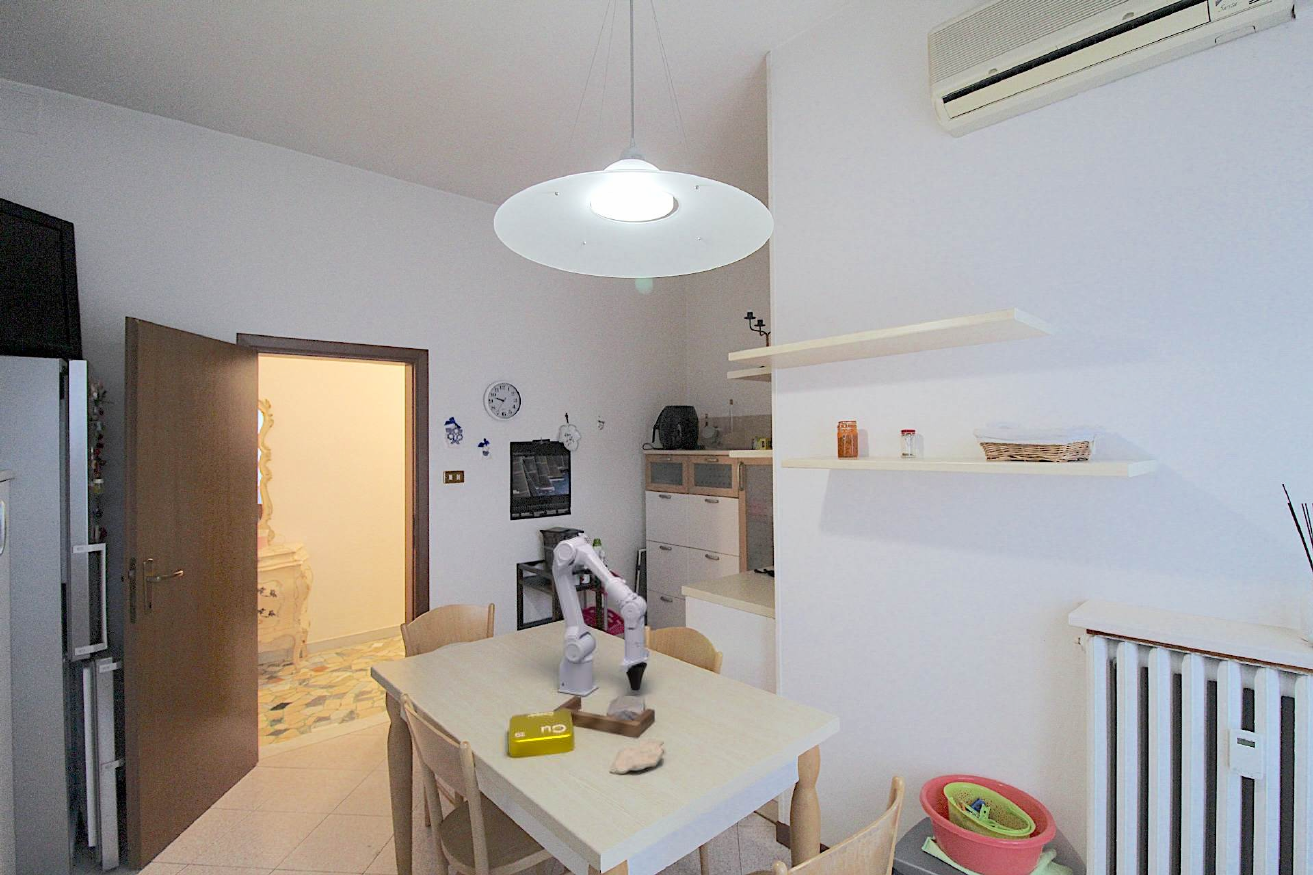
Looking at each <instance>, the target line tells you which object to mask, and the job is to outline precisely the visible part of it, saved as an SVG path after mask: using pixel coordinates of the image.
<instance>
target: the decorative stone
mask: <svg viewBox="0 0 1313 875" xmlns="http://www.w3.org/2000/svg"><path fill="white" fill-rule="evenodd" d="M664 744H665V742H664V740H661V739H660V740H659V739H657V738H650V739H648V740H643V741H640V742H639V743H637V744H633V745H630V746H626V747H624V748H622V749H620V750H619V751H618V753H617V754H616V757H615V759H614V761H613V763H612V765H611V767H610V769H609V772H610V773H612V774H614V775H623V774H626V773H627V772H629V771H641V770H643V769H645V768H650V767H656V765H658V763H659V761H660V760H661V759H662V757H663V753H664V749H663V747H662V746H663V745H664Z"/></svg>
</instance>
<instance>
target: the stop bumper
mask: <svg viewBox="0 0 1313 875" xmlns="http://www.w3.org/2000/svg"><path fill="white" fill-rule="evenodd" d="M581 709H582V697H581V696H579V695H575V696H574V695H573V697H571V698H570V699H568V700H566V701H565V702H564V703H562V704H560V705H559V706H558V707H556V708H555V709H553V711H561V710H568V711H569V712H570V713H571V717H572V723H573V727H579V728H584V729H590V730H595V731H599V732H605V733H608V734H609V733H610V734H615V735H620V736H623V737H624V736H625V737H629V738H635V739H638V738H639V737H641V735H642V734H644V733H645V731H646V730H648V729H649V728H650V727H651V726H652V725H653V724H654V723H655V722H656V721H655V720H656V719H655V718H656V717H655V716H656V715H655V709H652V708H646V709H644V712H643V713H642V714H641V715H640V716H639V717H637V718H636V719H635V720H634V721H631V720H625V719H620V718H615V717H609V716H607V715H603V714H598V713H593V712H587V711H586V712H585V711H582V710H581Z"/></svg>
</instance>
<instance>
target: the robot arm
mask: <svg viewBox="0 0 1313 875" xmlns="http://www.w3.org/2000/svg"><path fill="white" fill-rule="evenodd" d="M552 553H553V555H554V556H553V560H552V561H553V562H552V566H551V571H552V572H551V573H552V576H553V580H554V581H553V582H554V583H555V584H554V585H555V589H556V592H557V596H558V599H559V600H558V601H559V604H560V605H559V606H560V609H561V612H562V616H563V621H564V624H565V628H566V629H565V633H564V636H563V642H564V646H563V655H564V657H563V658H562V659H561V662H560V664H559V666H558V667H559V668H558V669H559V670H558V673H559V674H558V675H559V679H558V680H559V682H558V684H559V689H557V692H558V693H559V692H560V693H563V694H564V693H565V694H571V695H575V696H580V697H581V696H582V697H586V696H587V697H588V695H589V694H591V693H592V692H594V691H595V690H597V689H598V688H600V685H599V684H594V655H593V652H594V651H595V649H596V647H597V639H596V637H595V636H594V635H593V633H592V631H591V628H590V626H588V624H587V623H585V620H584V616H583V612H582V608H581V604H580V600H579V597H578V593H577V589H576V585H575V580H574V576H573V573H572V571H573V569H574V568H575V566H576V565H581V566H586V567H587V568H588V569H589V570H590V571H591V572H592V573H593V574H594V575H595V576H596V577H597V578H598V580H600V581H601V583H603V584H604V591H605V593H606V594H607V595H608V596H609V597H610V599H611V600H612V602H614V603H615V604H616V606H617V607H618V608H619V609H620V615H621V617H622V619H623V620H624V622H623V623H624V624H623V625H624V629H623V630H624V657H623V658H622V661H621V663H620V664H619V672H621V673H625V674H626V676H627V678H628V682H629V685H630V686H629V687H630V689H631V691H636V692H637V691H638V692H639V691H640V690H641V685H642V681H643V677H644V673H645V671H646V668H647V667H648V663H647V662H648V661H649V660H650V658H649V657H650V649H646V642H645V640H646V639H645V638H646V635H645V634H646V631H645V629H646V627H645V614H646V612H647V610H648V605H647V602H646V600H645V599H644V597H642V596H640V595H638V594H637V593H636V592H633V590H631V588H630V586H628V584H627V581H626V580H625V579H624V578H623V579H622V578H621V577H618V576H617V577H616V576H614V575H613V574H612V573H611V572H610V570H609V568H608V567H607V566H606V565H605V563H603V561H602V560H601V558H600V557H599V556H598V555H597V554H596V552H595V550H594V548H593V546H592V544H590V543H588V541H587V540H586V538H584V537H582V536H575V537H573V538H568V539H565V540H562V541H559V542H558V544H557V545H556V547H555V548H553V552H552Z"/></svg>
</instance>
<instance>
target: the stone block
mask: <svg viewBox="0 0 1313 875" xmlns="http://www.w3.org/2000/svg"><path fill="white" fill-rule="evenodd" d="M645 704H646V703H645V696H633V695H624V696H621V697H617V698H615V699H612V700H610V704H609V705H608V708H607V709H606V710H607V711H606V716H609V717H615V718H620V719H625V720H631V721H634V720H635V719H636V718H637V717H639V716H640V715H641V714H642V713H643V712H644V711H645V710H646V709H645V706H646V705H645Z"/></svg>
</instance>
